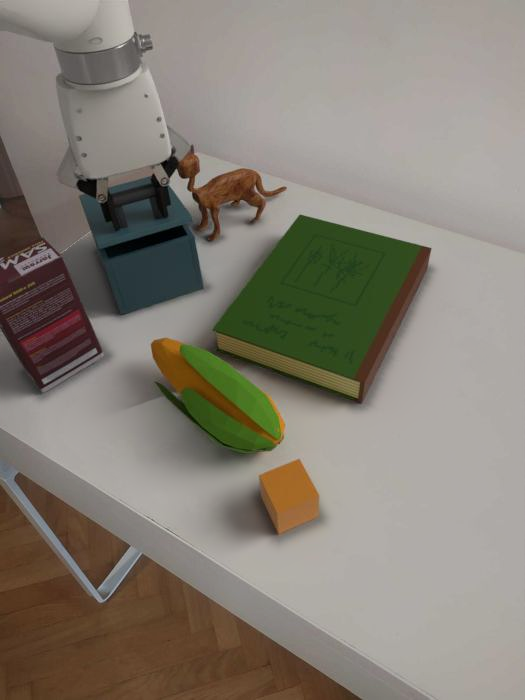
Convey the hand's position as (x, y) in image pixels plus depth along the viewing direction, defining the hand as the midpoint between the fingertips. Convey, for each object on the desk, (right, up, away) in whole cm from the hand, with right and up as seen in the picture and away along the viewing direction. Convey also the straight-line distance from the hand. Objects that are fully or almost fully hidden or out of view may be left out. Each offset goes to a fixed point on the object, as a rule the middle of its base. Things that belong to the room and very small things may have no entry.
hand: (139, 216), depth 68 cm
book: (+23, -10, +6) cm, 26 cm away
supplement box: (-9, -18, +2) cm, 20 cm away
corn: (+9, -23, -4) cm, 25 cm away
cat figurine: (+11, +4, +19) cm, 23 cm away
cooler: (-1, -5, +12) cm, 13 cm away
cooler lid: (-2, +2, +5) cm, 5 cm away
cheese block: (+17, -31, -12) cm, 38 cm away
